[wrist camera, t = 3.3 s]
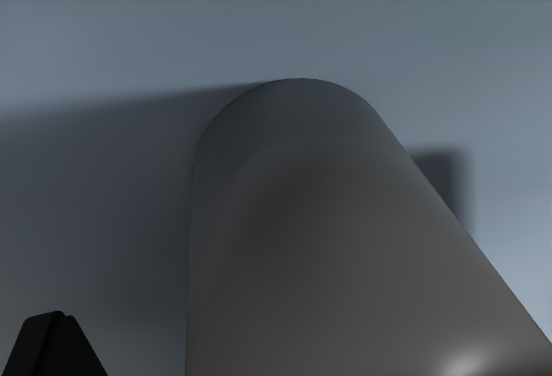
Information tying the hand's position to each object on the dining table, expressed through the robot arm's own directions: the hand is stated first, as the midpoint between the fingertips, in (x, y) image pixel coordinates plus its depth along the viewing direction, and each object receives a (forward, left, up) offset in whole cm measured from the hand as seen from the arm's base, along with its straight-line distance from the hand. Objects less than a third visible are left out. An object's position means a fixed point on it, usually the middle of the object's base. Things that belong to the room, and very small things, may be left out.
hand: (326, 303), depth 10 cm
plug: (0, 0, -2) cm, 2 cm away
